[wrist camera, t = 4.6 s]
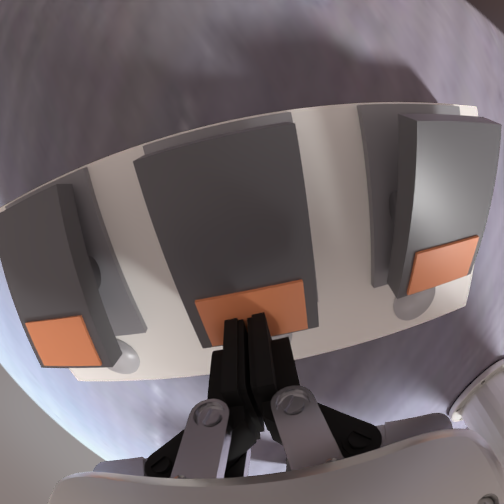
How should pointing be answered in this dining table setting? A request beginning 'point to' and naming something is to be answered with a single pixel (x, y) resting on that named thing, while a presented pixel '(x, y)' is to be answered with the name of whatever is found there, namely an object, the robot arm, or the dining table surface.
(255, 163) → the middle rocker
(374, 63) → the dining table surface
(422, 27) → the dining table surface
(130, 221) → the rocker switch panel
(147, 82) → the dining table surface
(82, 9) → the dining table surface
